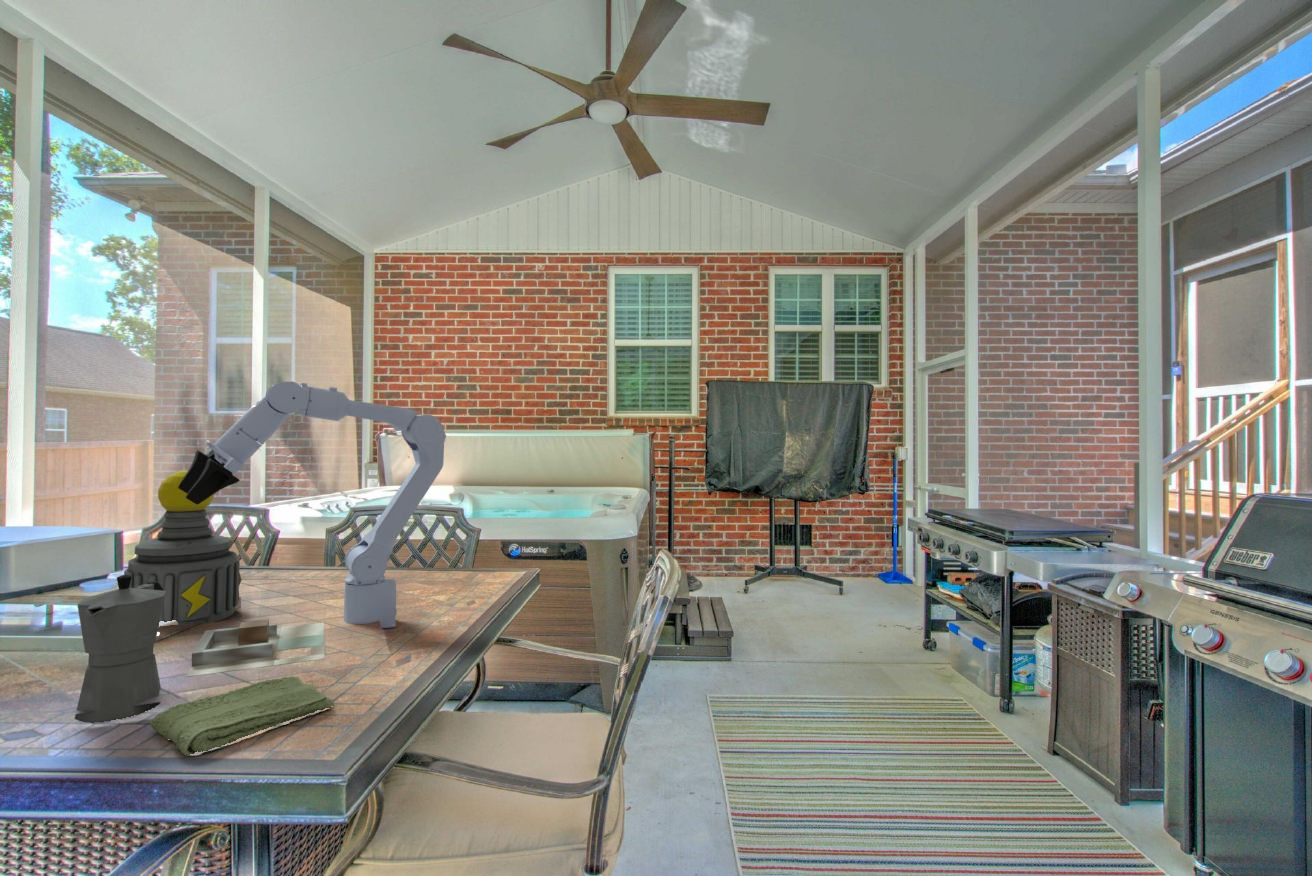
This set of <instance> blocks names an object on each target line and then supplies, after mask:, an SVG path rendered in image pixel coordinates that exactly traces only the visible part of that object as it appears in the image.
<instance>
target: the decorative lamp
mask: <svg viewBox="0 0 1312 876" xmlns="http://www.w3.org/2000/svg"><path fill="white" fill-rule="evenodd" d="M188 470H189V469H188ZM188 470H181V471H176V472H174V473H171V474H170V475H168V476H167V477H166V478H164V480H162V482H161V484H160V485H159V486H158V490H157V494H158V495H157V499H158V501H159V503H160V505H161V507H162V508H164V510H166V511H165V514H164V516H163V517H164V518H165V519H164V520H161V521H162V522H161V525H160V528H161V529H160V530H159V531H158V533H157V535H156V537H155V538H150V539H147V540H145V541H142V542H140V543H138V544H135V546H134V554H135V555H137V556H136V557H133V558H131V559H130V560H128V562H127V568H126V569H124V572H123V575H130V576H132V578H131V582H130V586H129V588H137V587H138V586H140V585H145V584H148V583H150V582H152V581H157V582H159V584H160V585H161V587H162V588H163V590H164V591H166V593H165V597H164V602H163V607H162V612H161V617H160V621H164V622H167V621H172V620H176V621H177V622H178V625H177V626H176V627H178V626H187V625H188V626H189V625H198V624H207V623H214V622H216V623H217V622H221V621H224V620H226V619H228V618H230V617H231V616H233V614H234V613H235V612H236V607H237V606H238V605H239V602H240V585H241V582H242V576H241V573H240V567H241V566H240V561H239V559H238V555H237V553H236V552H235V551H233V550H230V548H232V546H233V542H232V541H233V540H232V539H230V538H229V537H226V536H223V535H220V534H219V535H218V534H213V530H212V528H210V527H209V526H210V525H211V523H210V521H209V519H208V518H207V515H208V514H207V510H206V509H207V508H208V506H209V505H211V503H212V501H213V499H214V496H215V494H213V495H212V496H210V497H209V498H207V499H206V500H204V501H203V502H201V503H200V504H198V505H197V504H195V503H193V502H192V501H190V500H188V499H187V498H186V495H187V493H186V492H184V491H182V490H180V489H179V488H178V486H179V484H180V482H181V481H182V479H183V478H184V476H185V475H186V473H187V472H188Z"/></svg>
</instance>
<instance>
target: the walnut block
mask: <svg viewBox="0 0 1312 876" xmlns="http://www.w3.org/2000/svg"><path fill="white" fill-rule="evenodd" d="M269 624H270V618H268V619H256V620H247V621H246V620H245V621H241V622H240V624H239V636H238V646H242V645H251V644H259V643H268V642H269Z"/></svg>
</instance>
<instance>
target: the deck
mask: <svg viewBox="0 0 1312 876" xmlns="http://www.w3.org/2000/svg"><path fill="white" fill-rule="evenodd" d="M238 636H239V627H237V626H236V627H235V626H234V627H227V628H217V629H208V630H207V629H206V630H205V631H204V632H203V634H202V635H201V637H200V640H199V641H198V643H197V644H196V646H195V648H194V649H193V651H192V653H191V667H190V668H189V670H188V672H187V674H186V675H185V678H189V677H197V676H205V675H212V674H219V673H227V672H235V671H243V670H251V669H257V668H258V669H259V668H265V667H267V668H268V667H273V666H281V665H288V664H289V665H290V664H295V663H297V664H298V663H303V662H311V661H318V660H319V661H320V660H325V659H326V658H325V657H326V656H325V622H317V623H315V622H314V623H308V624H306V623H305V624H298V625H290V626H288V625H287V626H278V623H277V622H276V623H269V642H268V643H259V644H251V645H242V646H238ZM301 648H302V649H304V648H310V655H305V656H298V657H289V658H281V659H276V655H277V652H280V651H287V650H295V649H301Z"/></svg>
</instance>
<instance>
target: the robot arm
mask: <svg viewBox="0 0 1312 876" xmlns="http://www.w3.org/2000/svg"><path fill="white" fill-rule="evenodd" d="M293 413H298V414H299V415H300V416H302V417H308V418H315V419H322V420H329V421H334V422H335V421H336V422H338V421H341V420H342V419H343V418H345V417H347V416H349V417H353V418H358V419H363V420H368V421H369V420H370V421H375V422H381V423H386V424H388V425H389V426H390V427H391V428H392V429H394V431H396V432H400V433H401V435H402V438H403V439H404V441H405V442H406V444H407V445H408V446H409V448H410V450H411V452H412V455H413V459H414V462H415V464H414V465H413V467H412V469H411V470H410V472H409V473H408V475H407V476H406V478H405V479H404V481H403V482H402V484H401V485H400V486H399V488H398V490H397V491H396V493H394V496H393V497H392V498H391V500H390V502H389V503H388V504H387V506H386V508H385V509H384V510H383V512H382V513H381V515H380V516H379V517H378V519H377V521H376V523H375V524H374V525H373V527H372V529H371V530H369V531H368V532H367V533H366V534H365V535H364V536H363V537H362V538H361V540H360V541H359V542H358V543H356V544H355V545H354V546H353V547H351V548H350V549H349V550H348V551H347V552H346V554H345V557H344V565H345V568H346V569H347V570H348V571H349V573H348V575H347V577H346V578H345V579H344V594H343V595H344V596H343V597H344V598H343V599H344V601H343V602H344V603H343V623H345V624H346V623H347V624H352V625H361V624H370V623H375V622H379V624H380V628H381V629H389V628H395V627H396V626H397V624H396V616H397V611H398V610H397V584H396V579H395V578H386V576H385V575H384V574H385V573H386V571H387V569H388V568H387V567H388V561H389V558H390V556H391V554H392V553H393V550H394V545H395V542H396V540H398V539H397V538H399V536H400V534H401V532H402V531H403V529H404V528H405V526H406V525H407V524H408V522H409V521H410V519H411V517H412V515H413V513H415V511H416V509H417V508H418V506H419V505H420V503H421V502H422V500H423V499H424V497H425V495H426V494H427V493H428V490H429V489H430V488H431V486H432V485H433V483H434V482H435V480H436V479H437V477H438V475H440V472H441V471H442V469H443V467H444V463H445V462H444V460H445V459H444V457H445V456H444V455H445V441H446V438H447V435H446V431H445V429H444V427H443V424H442V422H441V420H440V419H438V418H437V417H436V416H435V415H432V414H423V415H420V414H422V412H420V411H417V410H413V409H408V408H405V407H401V406H394V405H393V406H392V405H388V404H379V403H372V402H365V401H357V400H351V399H349V398H348V396H347V395H346V394H345V392H343V391H338V388H337V387H334V386H330V387H328V388H327V389H326V388H321V387H320V388H319V387H314V386H308V383H306V382H300V384H298V383H297V382H294V381H280V382H277V383H275V384H273V385H272V386H270V387H268V389H267V391H266V394H265V396H264V397H262V398H260V399H258V401H257V402H256V403H255V405H252V406H251V407H250V408H249V409H248V410H247V411H245V413H244V414H243V415H241V417H240V418H238V420H236V422H235V423H233V425H231V426H230V427H229V429H227V430H226V431H225V432H224V433H223V434H222V435H221V436H220V437H219V438H218V439H216V441H215V442H214V443H212V442H211V441H209V440H205V442H204V445H206V446H208V447H209V449H208V450H207V452H206V454H205V453H204V452H202V451H200V450H199V449H197V450H196V452H195V454H194V457H193V460H192V463H191V465H190V467H189V468H188V472H187V473H186V475H185V476H184V478H183V479H182V481H181V482H180V484H179V486H178V488H179V489H180V490H182V491H184V492H186V493H187V495H186V498H187V499H188V500H190V501H192V502H193V503H195V504H197V505H198V504H200V503H201V502H203V501H204V500H206V499H207V498H209V497H210V496H212V495H213V494H214V495H215V494H216V493H218V492H220V491H221V490H223V489H224V488H227V487H229V486H231V485H234V484H237V483H239V482H240V479H239V478H238V477H236V476H235V475H236V474H237V473H238V472H239V471H240V470H241V469H242V468H244V466H245V464H246V463H247V461H249V459H250V458H252V456H253V455H254V454H255V453H256V452H257V451H259V449H260V448H261V447H262V446H263V445H264V444H265V443H266V442H267V441H268V440H269V439H270V438H271V437H272V436H273V434H275V432H277V431H278V430H279V429H280V428H281V424H282V423H283V422H284V421H285V420H286V419H287V418H288V417H289V416H290V414H293Z"/></svg>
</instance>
